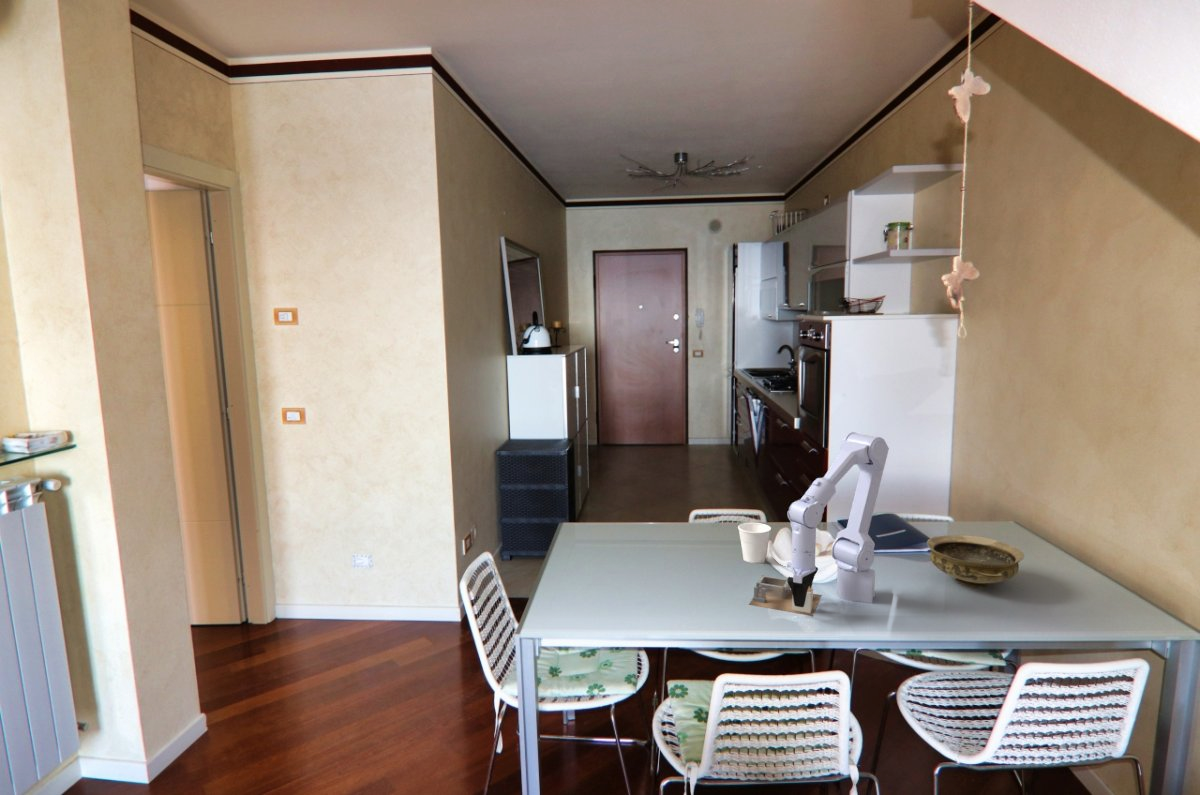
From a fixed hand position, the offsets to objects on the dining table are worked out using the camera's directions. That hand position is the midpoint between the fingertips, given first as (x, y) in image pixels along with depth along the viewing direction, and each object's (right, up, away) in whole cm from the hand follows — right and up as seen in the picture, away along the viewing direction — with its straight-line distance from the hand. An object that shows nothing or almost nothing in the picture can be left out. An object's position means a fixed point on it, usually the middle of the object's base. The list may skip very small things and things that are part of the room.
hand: (802, 600), depth 176 cm
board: (-3, -3, +6) cm, 7 cm away
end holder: (-5, -1, +11) cm, 12 cm away
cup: (-4, +1, +36) cm, 36 cm away
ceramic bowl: (+53, 0, +18) cm, 56 cm away
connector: (0, -2, 0) cm, 2 cm away
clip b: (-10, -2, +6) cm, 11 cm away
